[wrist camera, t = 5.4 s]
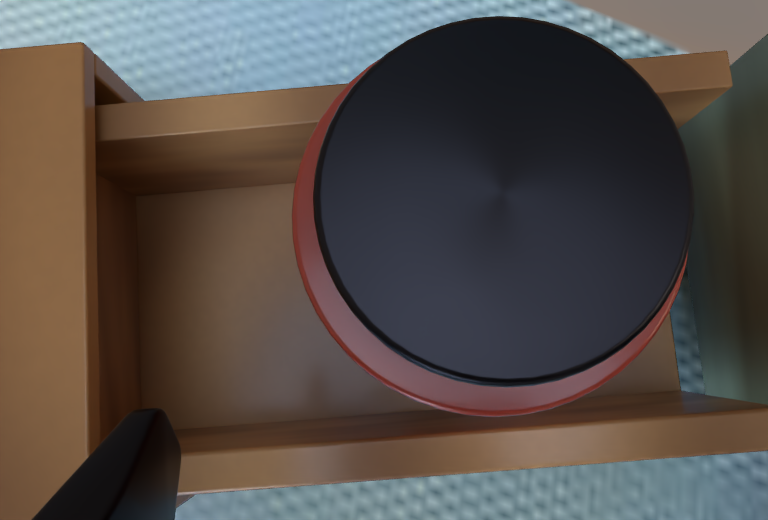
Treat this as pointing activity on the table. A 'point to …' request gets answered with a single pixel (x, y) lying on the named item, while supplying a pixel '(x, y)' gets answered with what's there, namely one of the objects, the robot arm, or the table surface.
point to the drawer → (329, 361)
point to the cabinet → (49, 268)
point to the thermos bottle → (494, 216)
